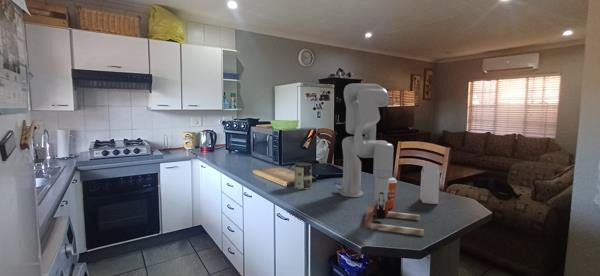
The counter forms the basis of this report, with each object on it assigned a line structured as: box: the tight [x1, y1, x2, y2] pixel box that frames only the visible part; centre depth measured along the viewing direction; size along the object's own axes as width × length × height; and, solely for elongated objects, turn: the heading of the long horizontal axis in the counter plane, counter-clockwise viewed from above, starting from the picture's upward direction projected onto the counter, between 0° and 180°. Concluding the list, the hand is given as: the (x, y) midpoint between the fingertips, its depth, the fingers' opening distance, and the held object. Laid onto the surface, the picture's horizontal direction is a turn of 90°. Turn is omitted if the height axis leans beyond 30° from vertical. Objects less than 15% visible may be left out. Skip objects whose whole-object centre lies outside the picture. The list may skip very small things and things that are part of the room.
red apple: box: [373, 202, 389, 218], centre depth 118 cm, size 6×6×8 cm
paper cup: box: [385, 176, 398, 210], centre depth 136 cm, size 8×8×14 cm
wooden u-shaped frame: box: [364, 204, 425, 236], centre depth 117 cm, size 21×16×4 cm
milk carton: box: [419, 163, 441, 205], centre depth 144 cm, size 7×7×19 cm
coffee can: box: [293, 162, 313, 190], centre depth 168 cm, size 10×10×14 cm
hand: (380, 215), depth 118 cm, fingers closed on red apple, 5 cm apart
